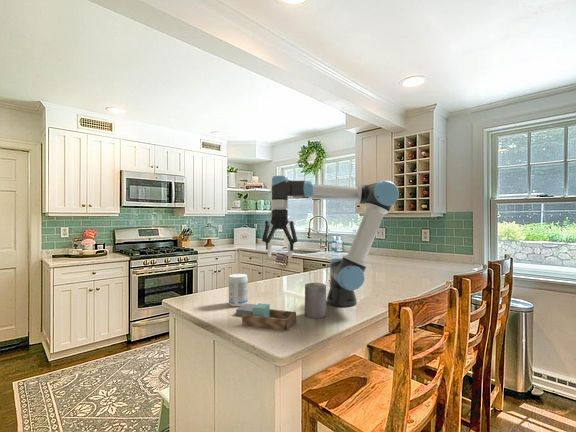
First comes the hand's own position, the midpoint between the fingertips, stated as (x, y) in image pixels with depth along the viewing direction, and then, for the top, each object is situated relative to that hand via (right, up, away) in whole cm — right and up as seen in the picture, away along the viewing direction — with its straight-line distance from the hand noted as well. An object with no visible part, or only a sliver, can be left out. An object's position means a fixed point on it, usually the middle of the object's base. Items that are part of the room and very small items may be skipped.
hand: (279, 257), depth 146 cm
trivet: (-13, -26, -1) cm, 29 cm away
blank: (-7, -26, -14) cm, 30 cm away
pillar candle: (+16, -26, -4) cm, 31 cm away
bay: (-4, -26, -15) cm, 30 cm away
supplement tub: (-21, -26, +12) cm, 36 cm away
